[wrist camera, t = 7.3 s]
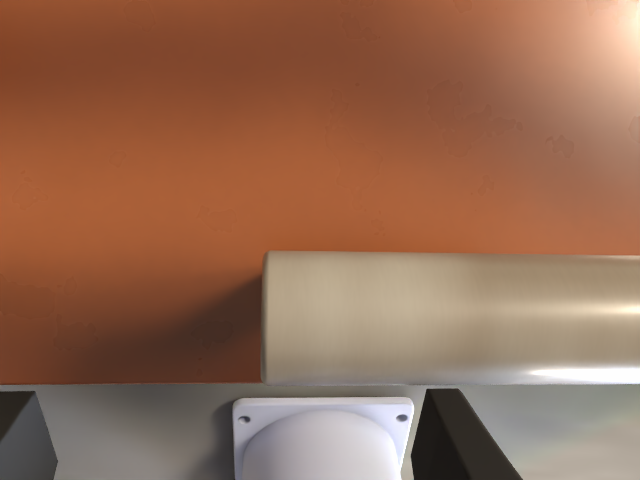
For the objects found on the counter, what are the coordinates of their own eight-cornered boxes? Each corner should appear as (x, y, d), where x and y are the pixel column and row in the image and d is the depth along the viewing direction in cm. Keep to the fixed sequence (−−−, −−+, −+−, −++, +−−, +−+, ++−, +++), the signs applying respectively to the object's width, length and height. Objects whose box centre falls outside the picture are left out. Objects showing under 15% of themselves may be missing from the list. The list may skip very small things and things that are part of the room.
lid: (766, 373, 12) (1108, 479, 7) (-27, 375, 10) (-282, 508, 6) (789, -143, 11) (1166, -407, 7) (-28, -206, 10) (-300, -593, 5)
